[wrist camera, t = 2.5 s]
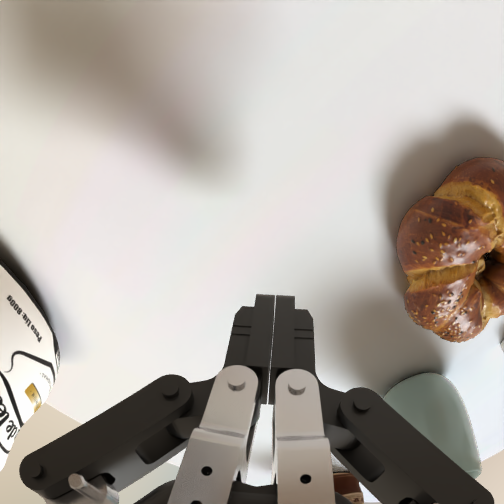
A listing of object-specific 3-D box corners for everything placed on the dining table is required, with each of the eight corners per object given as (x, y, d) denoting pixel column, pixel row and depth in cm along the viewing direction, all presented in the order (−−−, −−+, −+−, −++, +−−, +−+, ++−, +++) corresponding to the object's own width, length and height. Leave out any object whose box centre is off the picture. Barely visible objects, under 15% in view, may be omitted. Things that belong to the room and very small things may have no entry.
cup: (441, 346, 20) (476, 463, 12) (462, 383, 23) (487, 475, 14) (356, 388, 24) (365, 501, 15) (392, 417, 26) (403, 507, 18)
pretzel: (504, 308, 18) (524, 342, 15) (379, 327, 20) (389, 370, 17) (546, 156, 12) (584, 181, 9) (394, 148, 14) (423, 175, 11)
